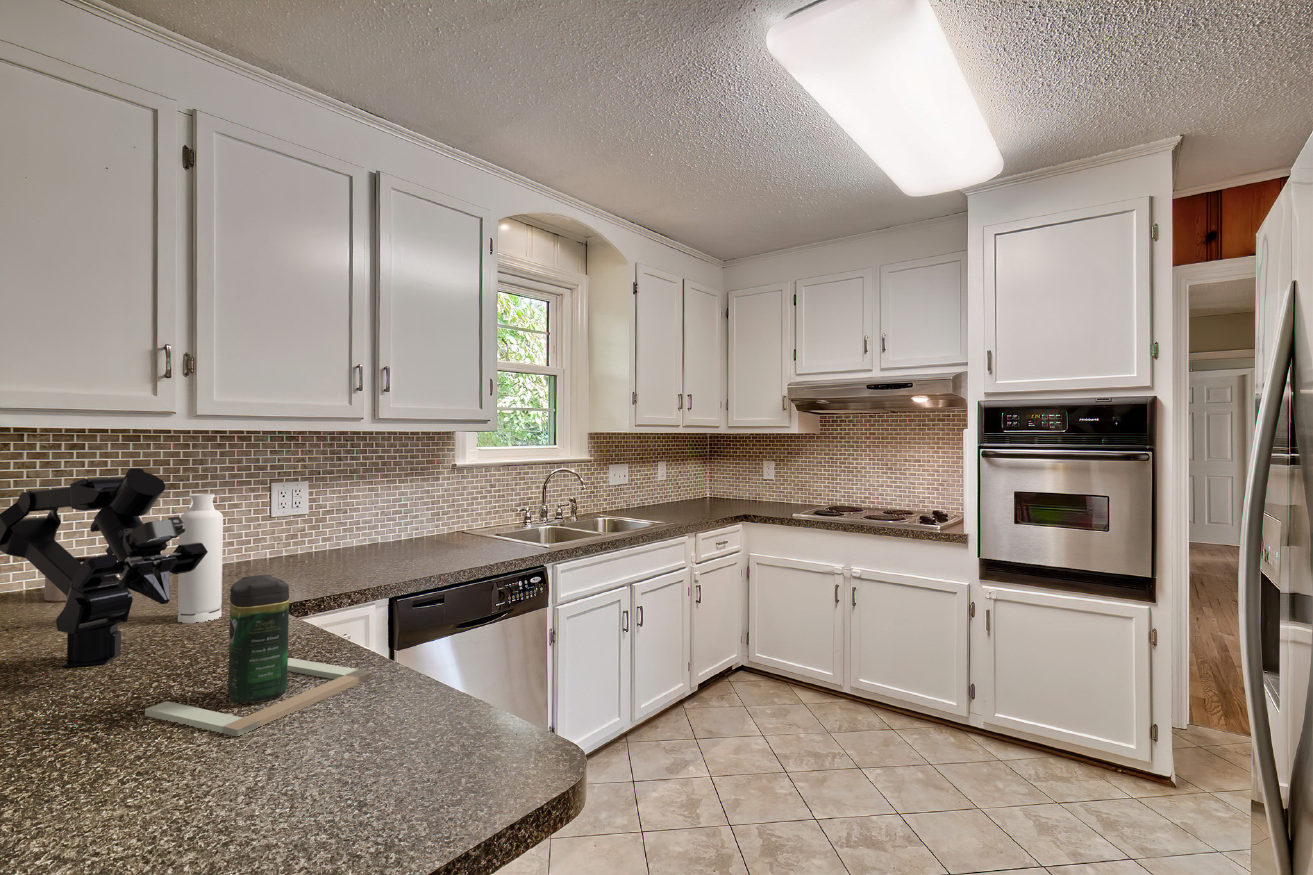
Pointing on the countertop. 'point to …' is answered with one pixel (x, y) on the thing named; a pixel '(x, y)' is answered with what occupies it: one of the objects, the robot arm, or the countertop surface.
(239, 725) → the frame
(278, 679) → the coffee jar
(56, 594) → the planter
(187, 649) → the countertop surface
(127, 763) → the countertop surface
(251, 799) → the countertop surface
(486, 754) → the countertop surface
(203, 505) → the bottle
